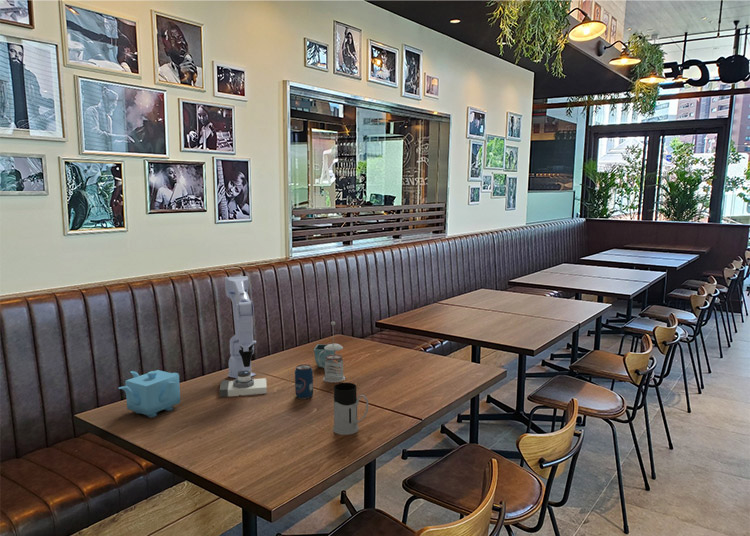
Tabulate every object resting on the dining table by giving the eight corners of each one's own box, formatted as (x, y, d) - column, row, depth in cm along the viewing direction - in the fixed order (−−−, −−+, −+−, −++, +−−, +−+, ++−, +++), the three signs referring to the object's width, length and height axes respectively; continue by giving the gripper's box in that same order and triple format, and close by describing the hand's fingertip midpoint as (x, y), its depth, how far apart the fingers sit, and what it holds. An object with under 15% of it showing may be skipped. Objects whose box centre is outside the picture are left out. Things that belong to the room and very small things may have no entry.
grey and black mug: (345, 421, 189) (344, 380, 187) (376, 432, 180) (376, 389, 178) (327, 429, 183) (326, 387, 180) (359, 441, 174) (358, 397, 172)
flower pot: (336, 363, 254) (336, 344, 252) (333, 369, 245) (332, 350, 244) (317, 362, 255) (317, 344, 253) (313, 368, 246) (313, 349, 245)
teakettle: (182, 399, 211) (180, 362, 209) (178, 418, 193) (175, 378, 191) (130, 404, 206) (127, 366, 204) (120, 424, 188) (117, 383, 186)
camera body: (220, 397, 212) (219, 387, 212) (221, 387, 223) (221, 378, 223) (266, 393, 216) (266, 383, 216) (266, 383, 227) (265, 374, 226)
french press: (344, 382, 228) (343, 324, 224) (317, 382, 228) (315, 324, 225) (346, 374, 238) (345, 318, 234) (320, 374, 238) (318, 319, 234)
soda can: (291, 397, 212) (291, 367, 210) (302, 391, 218) (301, 362, 216) (306, 400, 208) (305, 370, 207) (316, 394, 214) (316, 365, 213)
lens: (235, 385, 219) (235, 372, 218) (244, 381, 223) (244, 369, 222) (244, 387, 216) (243, 375, 215) (253, 383, 220) (253, 371, 219)
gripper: (255, 335, 213) (257, 368, 214) (256, 326, 227) (257, 357, 229) (237, 336, 211) (238, 369, 213) (238, 327, 225) (240, 358, 227)
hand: (247, 363), depth 221 cm, fingers open, 7 cm apart
